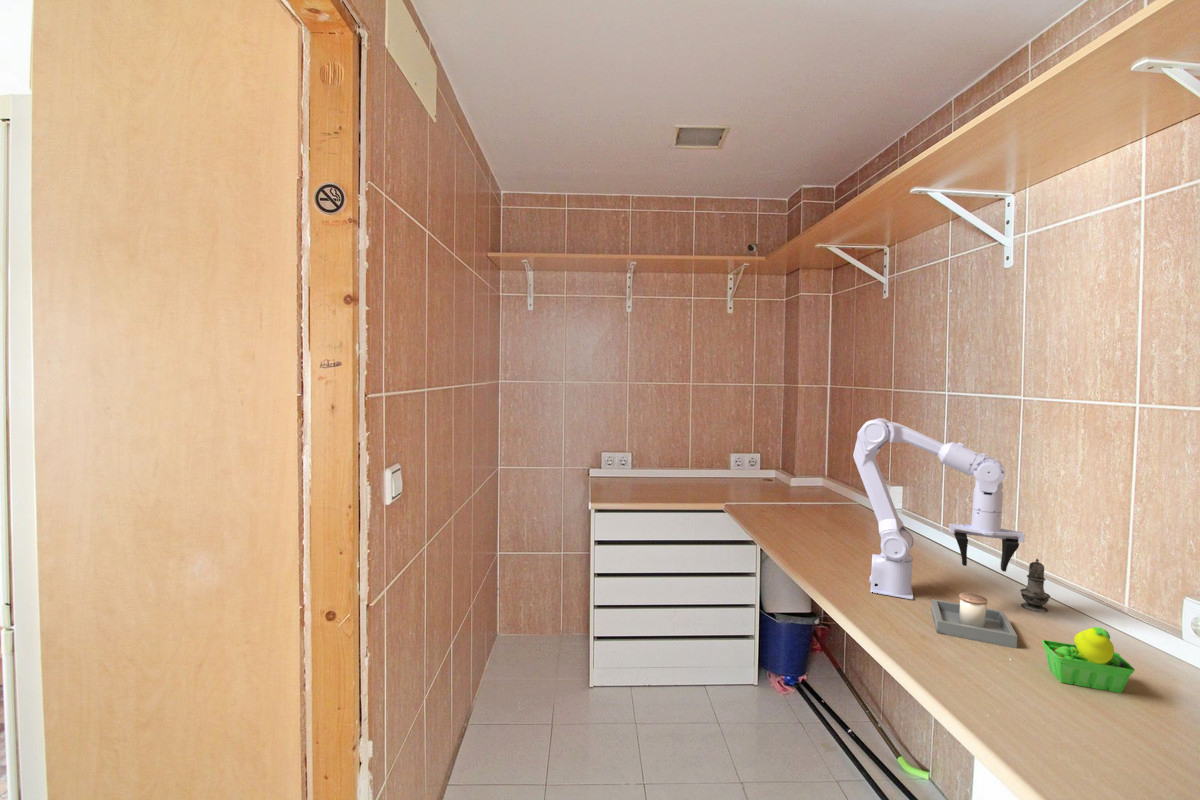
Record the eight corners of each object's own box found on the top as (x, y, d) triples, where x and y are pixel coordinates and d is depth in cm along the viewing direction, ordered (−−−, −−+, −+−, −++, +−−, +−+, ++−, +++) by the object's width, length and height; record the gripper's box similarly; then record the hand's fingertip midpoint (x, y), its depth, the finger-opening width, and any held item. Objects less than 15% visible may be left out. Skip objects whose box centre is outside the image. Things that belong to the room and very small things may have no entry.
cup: (958, 625, 125) (959, 598, 125) (957, 617, 129) (958, 591, 129) (987, 631, 122) (988, 603, 122) (985, 622, 127) (986, 596, 126)
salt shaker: (1055, 614, 134) (1058, 563, 134) (1026, 611, 135) (1030, 561, 135) (1041, 604, 140) (1044, 556, 139) (1014, 601, 141) (1017, 553, 141)
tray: (936, 632, 122) (937, 621, 122) (931, 609, 135) (931, 598, 135) (1016, 648, 116) (1017, 636, 116) (1003, 622, 129) (1003, 611, 129)
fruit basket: (1112, 677, 106) (1116, 617, 105) (1139, 702, 97) (1144, 637, 97) (1038, 665, 110) (1042, 607, 109) (1058, 688, 101) (1062, 626, 101)
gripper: (952, 509, 133) (949, 566, 134) (1029, 517, 127) (1025, 578, 128) (949, 503, 140) (946, 558, 140) (1021, 511, 133) (1018, 568, 134)
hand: (983, 567), depth 134 cm, fingers open, 7 cm apart
